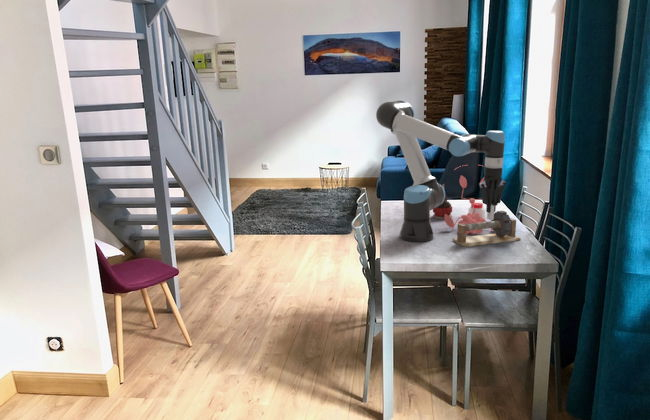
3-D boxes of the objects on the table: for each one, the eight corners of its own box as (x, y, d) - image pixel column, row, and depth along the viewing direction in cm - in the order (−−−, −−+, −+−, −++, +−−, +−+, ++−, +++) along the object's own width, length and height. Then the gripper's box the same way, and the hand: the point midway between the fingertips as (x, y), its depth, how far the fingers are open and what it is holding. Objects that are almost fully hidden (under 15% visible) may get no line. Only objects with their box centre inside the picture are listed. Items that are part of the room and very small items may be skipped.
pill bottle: (466, 226, 257) (467, 204, 255) (469, 222, 264) (470, 201, 262) (482, 228, 254) (483, 206, 251) (485, 224, 261) (486, 202, 258)
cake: (447, 221, 269) (448, 186, 265) (430, 219, 274) (431, 185, 270) (454, 216, 278) (455, 182, 274) (437, 214, 283) (438, 181, 279)
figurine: (500, 183, 264) (499, 243, 246) (447, 180, 271) (442, 239, 253) (503, 164, 252) (502, 226, 234) (448, 162, 258) (442, 222, 240)
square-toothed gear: (504, 239, 231) (506, 214, 228) (490, 232, 241) (491, 209, 239) (510, 238, 232) (512, 214, 229) (496, 231, 242) (497, 208, 240)
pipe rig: (464, 246, 227) (465, 227, 225) (452, 240, 236) (453, 221, 234) (520, 240, 234) (521, 221, 232) (506, 234, 243) (507, 215, 241)
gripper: (485, 169, 223) (482, 222, 228) (511, 167, 226) (507, 219, 232) (475, 166, 230) (472, 218, 235) (501, 164, 233) (497, 215, 239)
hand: (490, 219), depth 234 cm, fingers closed
